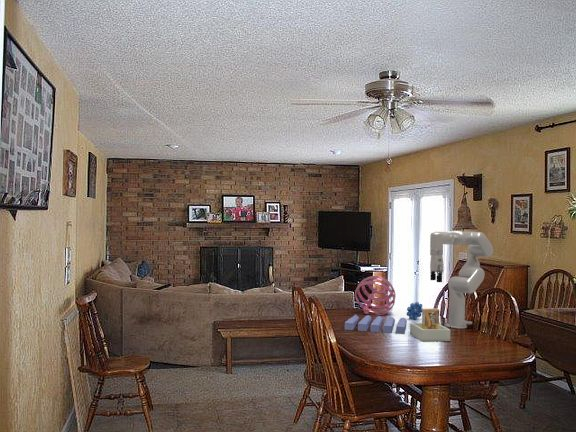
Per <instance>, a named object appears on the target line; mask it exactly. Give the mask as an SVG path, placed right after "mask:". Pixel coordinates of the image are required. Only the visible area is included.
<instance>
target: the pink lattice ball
mask: <svg viewBox="0 0 576 432" xmlns="http://www.w3.org/2000/svg"><path fill="white" fill-rule="evenodd" d="M377 280H378V281H377ZM380 281H382V282H380ZM383 282H384V283H383ZM366 285H368V288H369V290H370V291H371V293H369V292H368V291H367V289H366ZM373 285H376V287H374V286H373ZM378 286H380V287H381V289H382V290H380V289H378ZM360 288H361V291H362V292H363V294H364V295H365V296H367V299H365V297H363V295H362V294H361V291H360ZM354 291H355V292H354V297H355V300H356V302H357V304H358V305H359V307H361V308H362V309H363V313H364V314H365V315H369V313H373V314H375V315H377V316H381V317H383V316H384V315H386V314H387V313H388V312H389V311H390V310H392V309H393V307H394V305H395V303H396V292H395V291H396V290H395V288H394V286H393V284H392V282H390V281H389V279H387V278H385V277H382V276H379V275H371V276H368V277H366V278H363V279H362V280H361V281H360V282H359V283H358V285H357V287H356V289H355V290H354ZM387 292H389V293H390V294H388V293H387ZM375 294H378V295H382V294H383V295H384V297H376V296H374V295H375ZM357 295H358V296H357ZM391 298H392V300H391V301H390V299H391ZM359 299H360V300H359ZM360 301H362V302H363V303H364V304H365V305H363V304H362V303H361V302H360ZM372 301H376V302H386V303H385V304H376V303H373V302H372ZM369 307H372V308H375V309H384V310H374V309H370V308H369Z"/></svg>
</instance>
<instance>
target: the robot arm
mask: <svg viewBox="0 0 576 432" xmlns="http://www.w3.org/2000/svg"><path fill="white" fill-rule="evenodd" d="M429 237H430V239H429V240H430V241H429V242H430V243H429V245H430V246H429V247H430V249H429V255H430V263H429V268H430V270H429V271H430V279H429V280H430V281H436V282H437V283H442V282H443V273H444V271H445V270H444V257H443V256H444V245H456V246H462V245H463V246H465V245H466V246H467V245H468V246H467V249H466V252H467V260H466V261H465V264H464V265H463V266H462V267H461V268H460V270H459V272H458V276H452V277H450V278H449V279H448V283H447V285H448V290H449V298H448V299H449V302H448V304H449V307H448V323H446V324H445V327H446V328H450V327H451V329H467V328H468V325H473V321H469V320H467V319H465V317H466V298H465V295H464V294H473V293H475V291H476V290H477V289H478V288H479V287H480V285H481V284H482V282H483V281H484V278H485V276H486V275H485V270H484V269H483V268H482V267H481V264H480V263H481V262H480V260H479V258H490V257H492V256H493V254H494V247H493V245H492V244H491V242H490V240H489V239H488V237H487V236H486V234H485V233H484V232H483V231H482V232H481V231H467V230H466V231H459V230H458V231H457V230H455V231H434V232H431V233H430V236H429ZM478 257H479V258H478Z"/></svg>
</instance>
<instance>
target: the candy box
mask: <svg viewBox="0 0 576 432" xmlns="http://www.w3.org/2000/svg"><path fill="white" fill-rule="evenodd" d="M421 323H422V329H439V324H440V309H438V308H423V309H422V313H421Z"/></svg>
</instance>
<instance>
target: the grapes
mask: <svg viewBox="0 0 576 432" xmlns="http://www.w3.org/2000/svg"><path fill="white" fill-rule="evenodd" d="M422 309H424V308H423V304H421V303H419V301H415V302H411V303H410V304H409V306H408V307H407V308H406V311H407V312H406V316H407V317H408V319H409V320H414V321H415V320H418V318H420V317H422Z"/></svg>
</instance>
